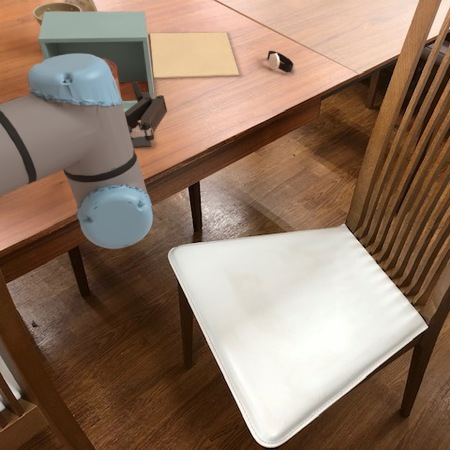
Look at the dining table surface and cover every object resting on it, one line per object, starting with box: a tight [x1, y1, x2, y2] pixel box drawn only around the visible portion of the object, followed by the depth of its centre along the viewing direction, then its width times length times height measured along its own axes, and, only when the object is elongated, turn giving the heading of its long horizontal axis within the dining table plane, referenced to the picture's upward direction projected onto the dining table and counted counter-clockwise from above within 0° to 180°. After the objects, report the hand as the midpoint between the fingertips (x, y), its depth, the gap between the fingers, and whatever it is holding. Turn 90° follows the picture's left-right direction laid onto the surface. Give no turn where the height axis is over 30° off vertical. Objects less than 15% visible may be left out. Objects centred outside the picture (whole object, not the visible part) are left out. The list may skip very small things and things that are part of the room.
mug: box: [63, 0, 99, 12], centre depth 119 cm, size 8×10×10 cm
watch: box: [266, 50, 294, 73], centre depth 114 cm, size 8×5×4 cm, turn 36°
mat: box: [149, 31, 240, 80], centre depth 115 cm, size 20×18×1 cm
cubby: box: [37, 10, 156, 99], centre depth 95 cm, size 11×18×14 cm, turn 104°
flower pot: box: [32, 1, 82, 26], centre depth 108 cm, size 9×9×9 cm
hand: (93, 98), depth 80 cm, fingers open, 13 cm apart
